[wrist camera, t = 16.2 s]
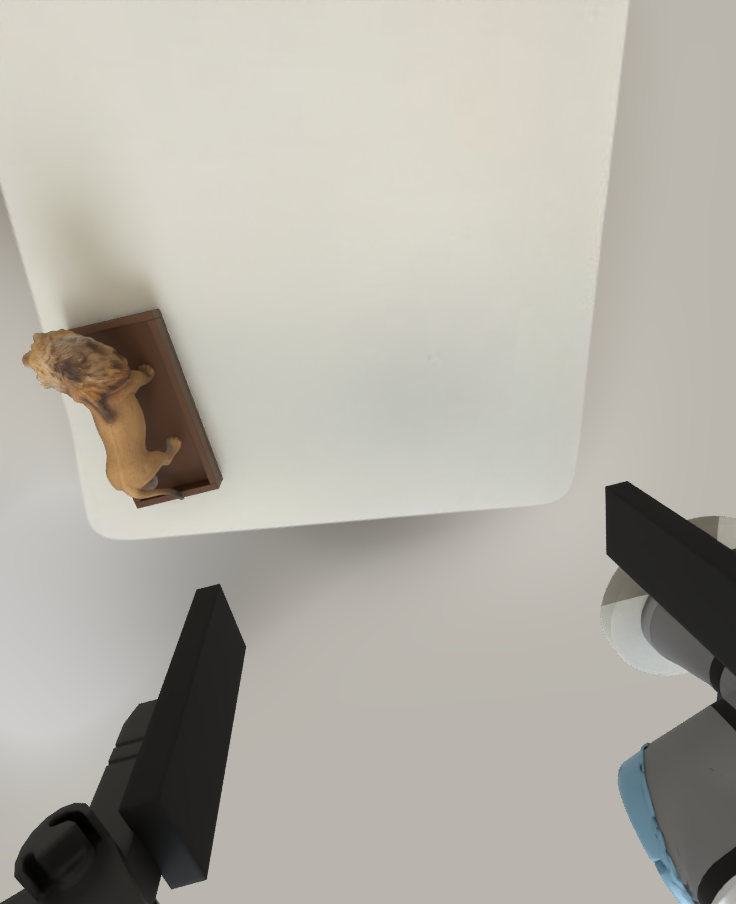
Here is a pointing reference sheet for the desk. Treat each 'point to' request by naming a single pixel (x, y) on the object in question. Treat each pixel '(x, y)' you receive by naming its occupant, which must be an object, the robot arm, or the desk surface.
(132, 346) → the tray
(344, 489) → the desk surface
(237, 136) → the desk surface
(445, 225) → the desk surface
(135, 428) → the lion figurine
